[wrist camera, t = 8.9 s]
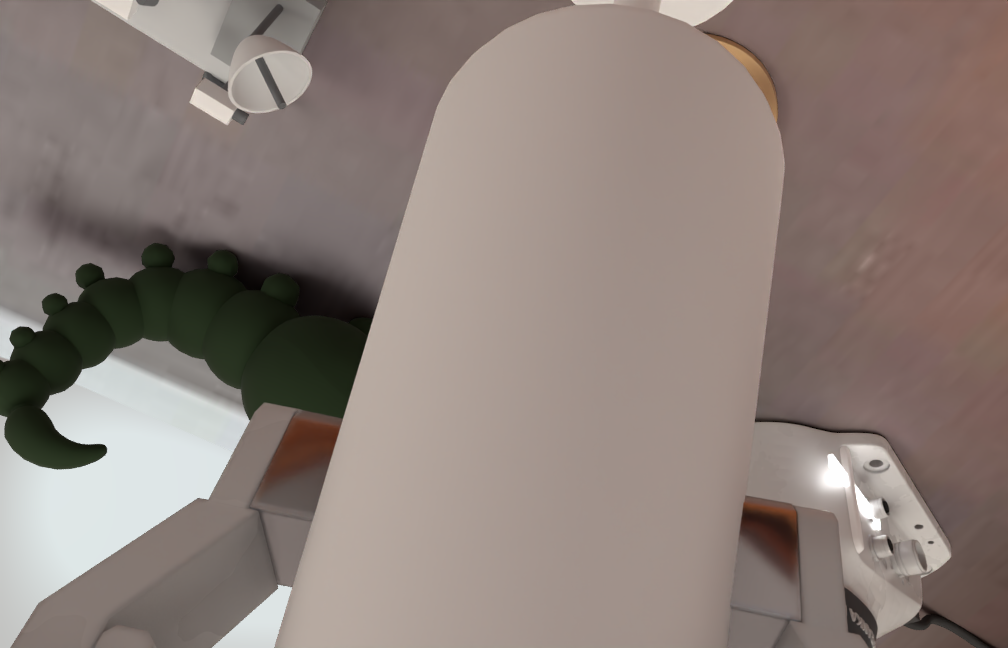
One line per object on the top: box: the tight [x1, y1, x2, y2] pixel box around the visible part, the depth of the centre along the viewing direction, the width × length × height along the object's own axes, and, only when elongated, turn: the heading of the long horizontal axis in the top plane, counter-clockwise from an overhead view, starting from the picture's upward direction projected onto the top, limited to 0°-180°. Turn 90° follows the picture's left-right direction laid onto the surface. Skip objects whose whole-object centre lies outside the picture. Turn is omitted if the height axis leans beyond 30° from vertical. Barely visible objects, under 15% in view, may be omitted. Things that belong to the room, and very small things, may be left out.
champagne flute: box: [274, 0, 785, 648], centre depth 18 cm, size 7×7×24 cm
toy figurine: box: [0, 243, 373, 469], centre depth 56 cm, size 9×19×25 cm
